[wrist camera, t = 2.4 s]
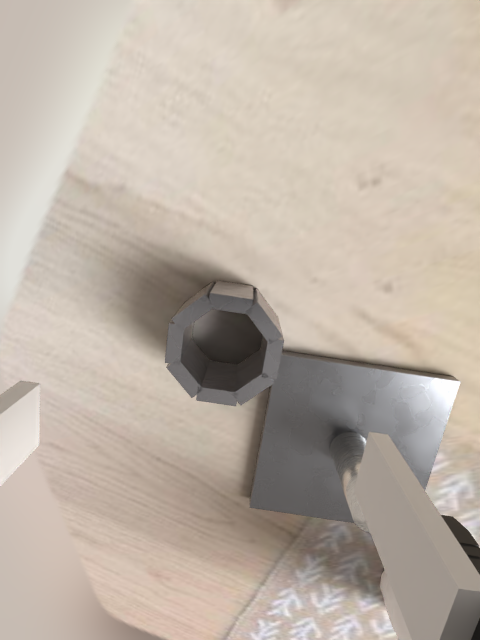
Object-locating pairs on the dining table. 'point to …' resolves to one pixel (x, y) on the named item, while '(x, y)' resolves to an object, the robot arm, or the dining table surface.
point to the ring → (220, 377)
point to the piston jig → (342, 431)
